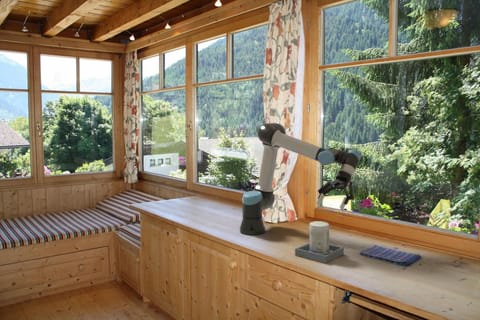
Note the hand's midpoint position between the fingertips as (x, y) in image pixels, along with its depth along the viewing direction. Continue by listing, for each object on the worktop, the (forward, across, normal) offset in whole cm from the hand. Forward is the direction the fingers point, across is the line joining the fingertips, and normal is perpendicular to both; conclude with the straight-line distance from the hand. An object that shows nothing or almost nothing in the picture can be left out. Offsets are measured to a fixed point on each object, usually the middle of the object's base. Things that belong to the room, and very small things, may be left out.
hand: (329, 206), depth 201 cm
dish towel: (+10, -29, -21) cm, 37 cm away
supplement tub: (+24, -3, -6) cm, 24 cm away
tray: (+24, -3, -6) cm, 25 cm away
